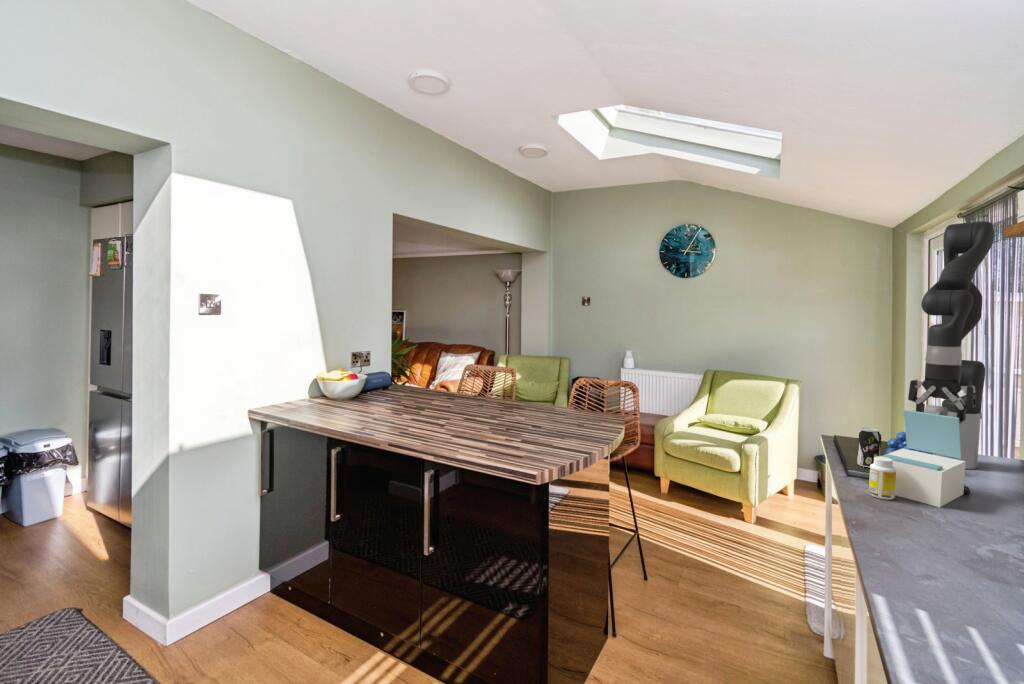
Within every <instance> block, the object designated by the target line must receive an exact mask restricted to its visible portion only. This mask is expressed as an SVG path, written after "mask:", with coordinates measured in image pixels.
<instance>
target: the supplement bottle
mask: <svg viewBox="0 0 1024 684" xmlns="http://www.w3.org/2000/svg"><path fill="white" fill-rule="evenodd" d="M880 456H881V455H880ZM880 456H877V457H874V463H873V464H871V465H870V469H869V479H868V494H869V496H872V497H873V498H877V499H880V500H888V501H889V500H894V499H895V498H896V495H895V485H896V468H895V467H893V460H892V459H890V458H887V457H880Z"/></svg>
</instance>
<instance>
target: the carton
mask: <svg viewBox="0 0 1024 684" xmlns="http://www.w3.org/2000/svg"><path fill="white" fill-rule="evenodd" d="M880 457H887V458H890V459H892V460H893V467H895V468H896V485H895V497H901V498H904V499H908V500H911V501H915V502H919V503H923V504H926V505H929V506H933V507H937V508H942V507H943V506H945V505H947V504H948V503H950V502H952V501H954V500H956V499H957V498H960V497H961V496H963V495H964V489H965V477H966V476H965V475H966V469H965V463H966V461H961V460H957V459H952V458H947V457H942V456H938V454H936V455H935V454H927V453H922V452H917V451H913V450H908V449H903V448H902V449H900V450H897V451H894V452H891V453H888V454H886V453H885V454H884V455H880Z"/></svg>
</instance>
